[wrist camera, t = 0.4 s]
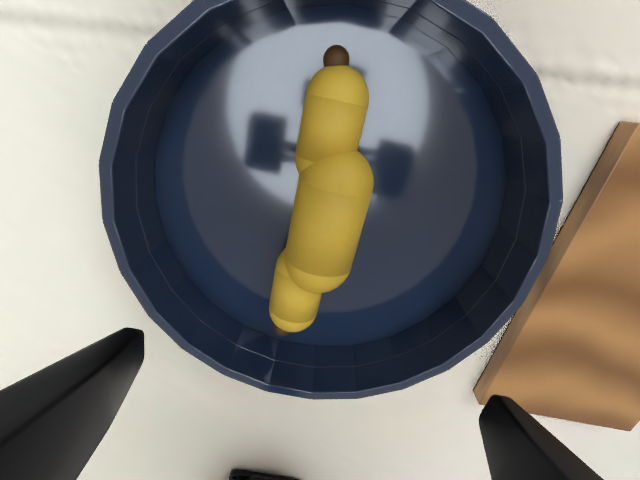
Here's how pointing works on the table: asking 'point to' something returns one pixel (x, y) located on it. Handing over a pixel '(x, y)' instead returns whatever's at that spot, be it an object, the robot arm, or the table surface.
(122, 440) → the table surface
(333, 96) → the banana
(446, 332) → the shallow blue dish
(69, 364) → the robot arm
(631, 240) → the cutting board
